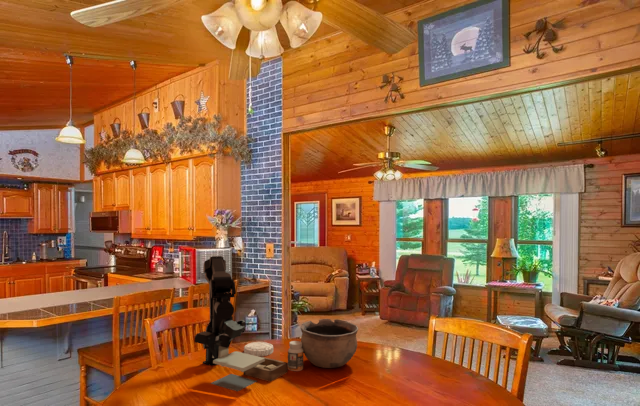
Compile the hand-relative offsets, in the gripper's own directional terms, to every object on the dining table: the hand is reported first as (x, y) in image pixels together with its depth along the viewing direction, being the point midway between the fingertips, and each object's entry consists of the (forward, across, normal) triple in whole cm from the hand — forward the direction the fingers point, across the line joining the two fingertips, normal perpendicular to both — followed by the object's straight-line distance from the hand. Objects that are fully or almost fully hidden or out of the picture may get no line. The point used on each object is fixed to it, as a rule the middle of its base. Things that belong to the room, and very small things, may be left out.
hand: (220, 357), depth 145 cm
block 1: (+7, +11, -9) cm, 16 cm away
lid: (+1, 0, -7) cm, 7 cm away
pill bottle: (+8, +22, -17) cm, 29 cm away
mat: (+7, 0, -7) cm, 10 cm away
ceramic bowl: (+8, +33, -25) cm, 42 cm away
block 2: (+7, +13, -12) cm, 19 cm away
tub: (+7, +12, -11) cm, 18 cm away
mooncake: (+8, +29, +6) cm, 31 cm away
